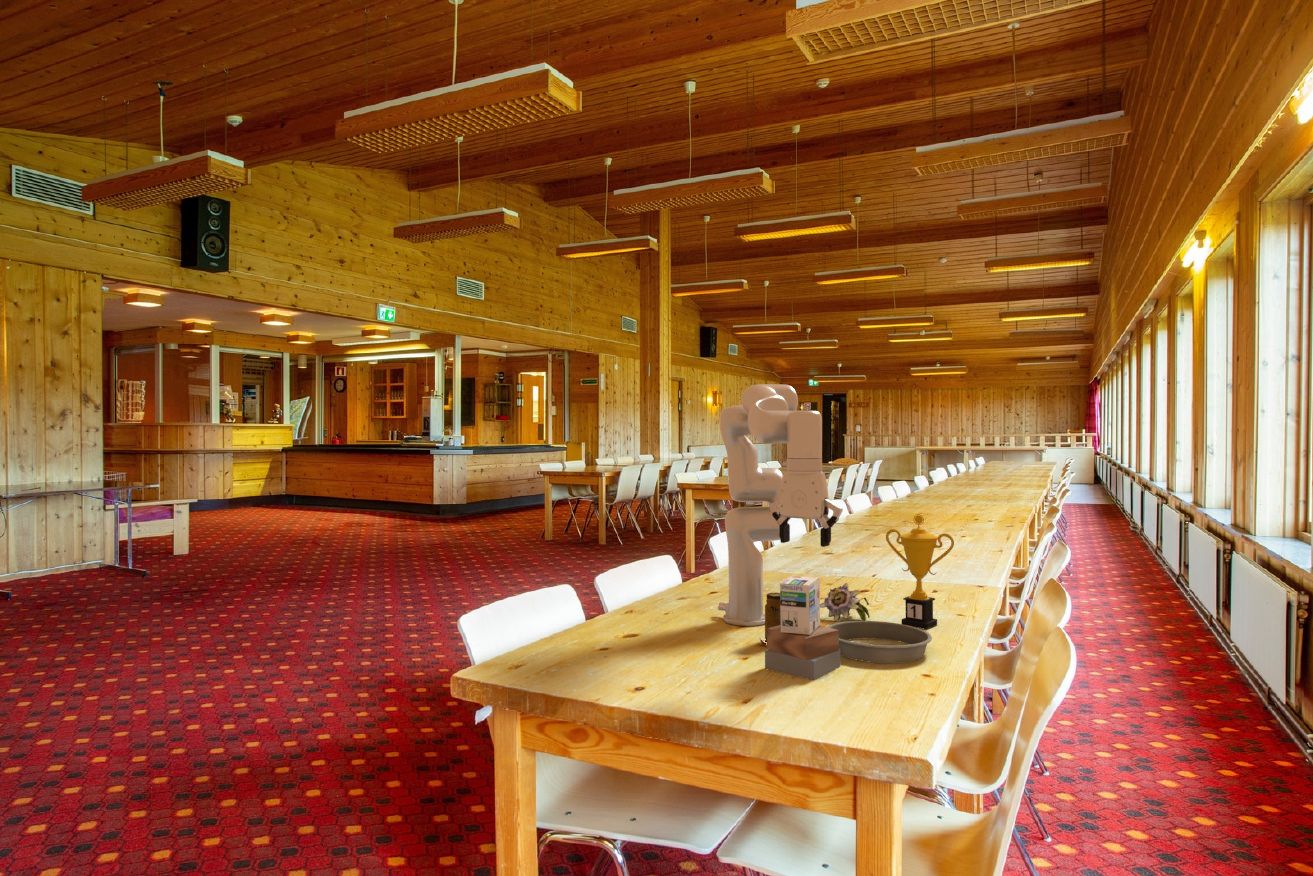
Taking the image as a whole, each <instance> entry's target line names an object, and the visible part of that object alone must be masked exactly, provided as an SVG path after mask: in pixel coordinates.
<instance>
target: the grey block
mask: <svg viewBox="0 0 1313 876" xmlns="http://www.w3.org/2000/svg"><path fill="white" fill-rule="evenodd" d="M836 668H837V669H839V668H841V655H840V649H839V651H835V652H832V653H828V654H825V655H821V656H817V657H814V658H810V659H807V660H804V659H801V658H798V657H795V656H791V655H788V654H784V653H781V652H777V651H774V650H771V649H767V650H765V651H764V670H766V669H768V670H767V671H771V670H773V671H772V672H775V671H776V673H779V674H784V673H785V675H788V674H789V676H793V677H798V678H802V679H806V678H808V679H807V680H812V681H816V680H817V678H818V679H820V678H822V677H823V676H825V675H827V674H829V673H831V672H833V671H835V670H837V669H836ZM815 679H816V680H815Z"/></svg>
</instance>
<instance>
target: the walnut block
mask: <svg viewBox="0 0 1313 876" xmlns="http://www.w3.org/2000/svg"><path fill="white" fill-rule="evenodd" d="M766 649H767V650H769V649H771V650H774V651H777V652H781V653H784V654H788V655H791V656H795V657H798V658H801V659H804V660H807V659H810V658H814V657H817V656H821V655H825V654H828V653H832V652H835V651H839V630H836V629H832V628H828V626H824V625H820V626H819V627H818V628H817V629H815V630H814V631H813V632H812V633H811V634H810V635H805V634H795V633H785V632H781V625H779V626H775V627H771V628H767V647H766Z"/></svg>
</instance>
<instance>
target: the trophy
mask: <svg viewBox="0 0 1313 876" xmlns="http://www.w3.org/2000/svg"><path fill="white" fill-rule="evenodd" d="M924 521H925V518H924V516H923V515H922V514H915V515H914V516H913V522H914V523H915V525H917V527H915V528H912V529H911V531H909V532H906V533H902V534H901V532H900V531H899V530H897V529H896V528H895V529H894V528H891V529H889V530H888V531H887V532H886V533H885V541H886V542H887V544H888V545H889V547H890V548H891V549H892V551H893V552H894V553H895V554H896V555H898V556H899V558H900V559H902V561H904V563H905V564H906V565H907V569H904V568H902V567H901V569H902V571H904V572H908V571H909V572H910V574H911V575H912V576H913V577H914V578H915V579H916V582H915V583H916V586H915V589H914V590H912V593H910V595H909V596H905V597H903V598H902V599H903V600H904V601H905V617H903V618H902V619H901V623H900V624H903V625H908V626H912V627H919V629H921V628H924V629H923V630H928V629H931V628H933V627H935V626H938V618H937V619H936V618H934V601H935V600H936V598H935V597H930V596H928V594H927V593H926V591H924V590H923V585H922V584H923V582H922V581H923V579H924V578H925V577H926V576H927V574H928V573H929V574H930V575H932V576H934V575H935V576H936V574H937V572H934V573H933V572H931V568H932V567H933V566H934V565H935V564H937V563H938V562H939V561H941V560H942V559H943V558H945V557H946V556H947V555H948V554H949V553H951V551H952V550H953V548H954V545H955V540H954V538H953V536H951V534H948V533H945V532H944V533H941V534H938V536H937V535H935V534H933V533H930V532H928V531H927V530H926V528H921V527H920V526H921V525H923V523H925V522H924ZM891 533H896V534H897V538H896V540H895V541H896V543H897V544H898V545H902V546H903V550H904V555H905V556H904V555H903V554H902V553H901V552H900V551H899V550H898V549H897V548H896V547H895V545H893V544H892V542H891V540H890V539H889V536H890V534H891ZM943 537H946V538H948V539H949V540H950V542H951V543H950V546H949V547H948V548H947V550H945V551H944V552H943V553H942V554H941V555H940V556H938V557H937V558H936V559H934V560H933V555H934V551H935V549H940V548H943V546H944V544H943V542H942V540H941V539H942V538H943ZM900 540H901V541H900ZM937 542H938V543H939V545H938V544H937ZM932 560H933V561H932ZM930 627H931V628H930Z"/></svg>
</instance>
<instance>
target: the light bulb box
mask: <svg viewBox="0 0 1313 876" xmlns="http://www.w3.org/2000/svg"><path fill="white" fill-rule="evenodd" d="M820 580H821V579H820V577H813V576H812V577H810V576H799V575H790V576H789V577H788V578H786V579H784V580H783V581H781V583H779V593H780V615H781V632H785V633H795V634H805V635H810V634H811V633H812V632H813V631H814V630H815V629H817V628H818V627H819V626H821V607H820V604H821V597H820V596H821V594H820V593H821V590H820V589H821V588H820V584H821V583H820V582H821V581H820Z"/></svg>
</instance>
